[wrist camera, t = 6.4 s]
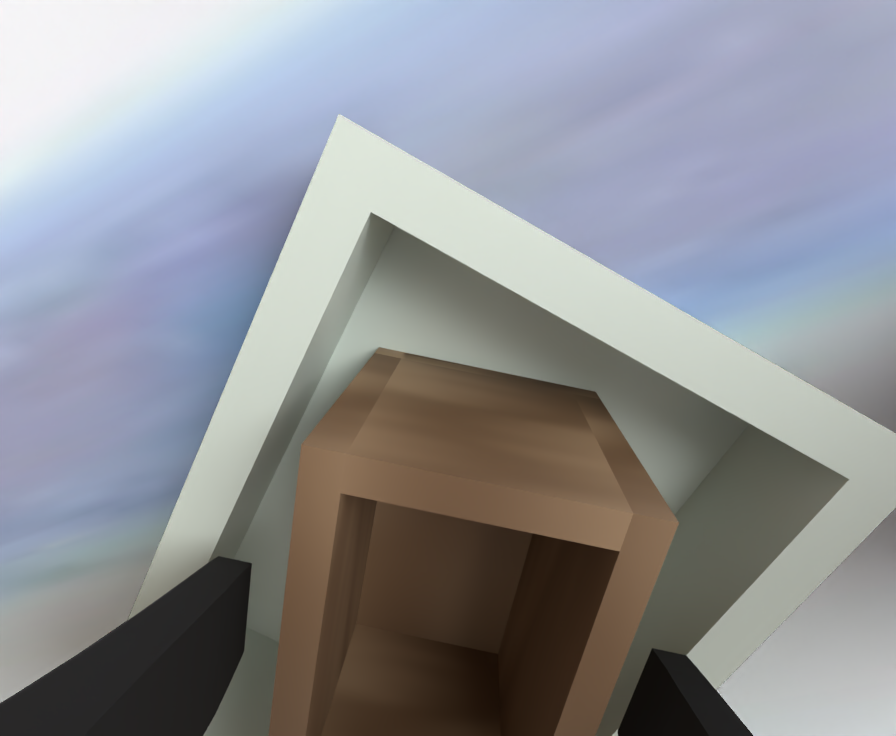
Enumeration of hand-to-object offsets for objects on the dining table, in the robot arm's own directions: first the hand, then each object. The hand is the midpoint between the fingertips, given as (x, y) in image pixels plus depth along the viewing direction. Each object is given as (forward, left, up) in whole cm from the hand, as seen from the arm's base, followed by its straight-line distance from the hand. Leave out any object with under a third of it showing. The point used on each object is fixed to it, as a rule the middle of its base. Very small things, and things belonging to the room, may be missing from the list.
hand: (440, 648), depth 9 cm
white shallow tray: (0, 0, -4) cm, 4 cm away
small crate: (0, 0, -4) cm, 4 cm away
